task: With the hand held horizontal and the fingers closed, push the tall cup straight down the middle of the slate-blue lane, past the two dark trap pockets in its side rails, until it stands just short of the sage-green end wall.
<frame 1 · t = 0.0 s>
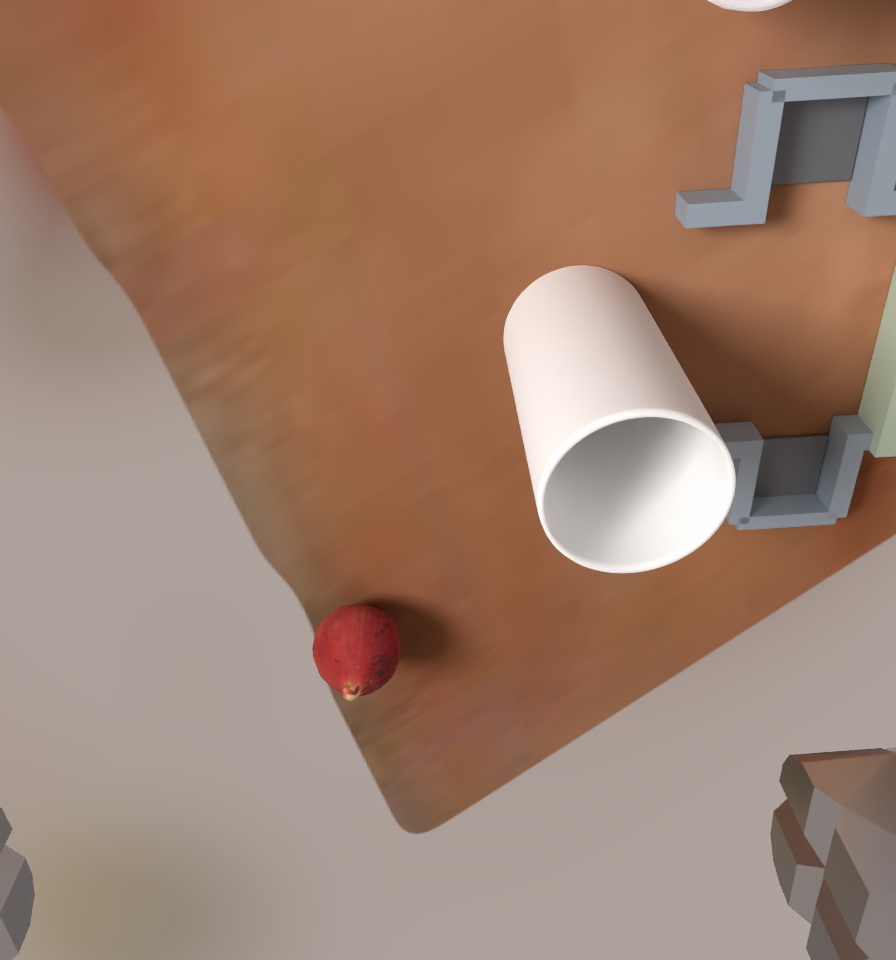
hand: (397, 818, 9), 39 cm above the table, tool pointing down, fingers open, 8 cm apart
onion: (360, 607, 60), on the table
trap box: (777, 322, 48), on the table
cup: (574, 333, 48), on the table
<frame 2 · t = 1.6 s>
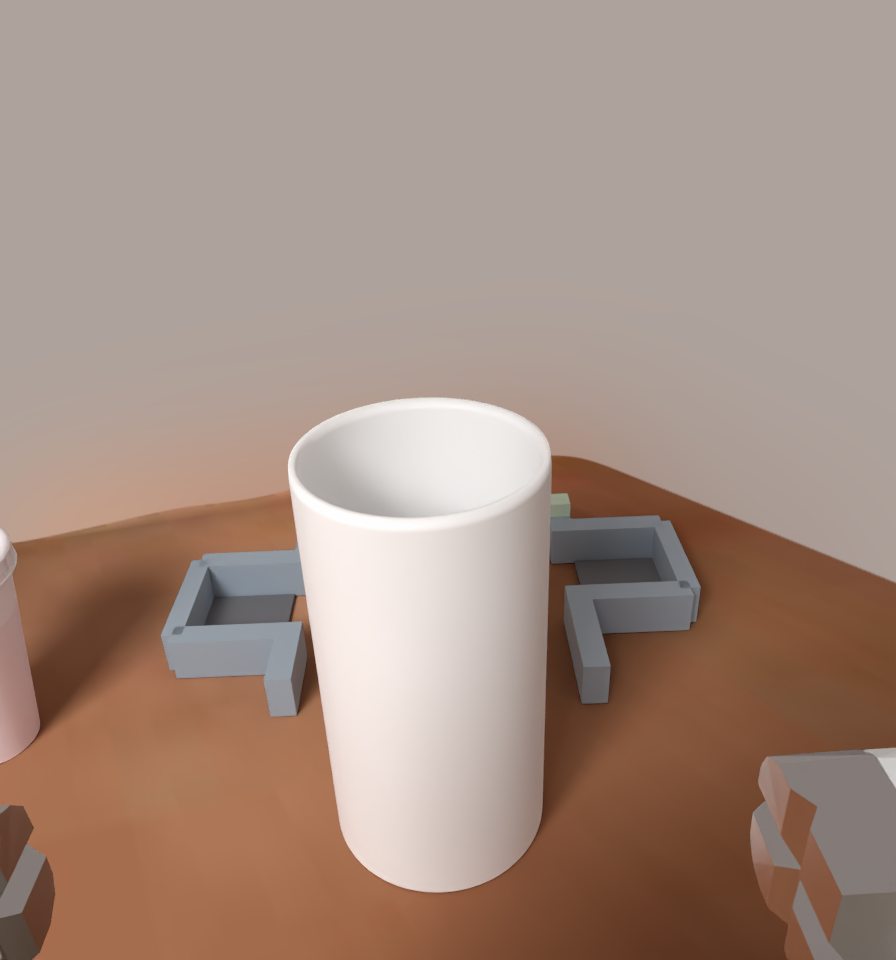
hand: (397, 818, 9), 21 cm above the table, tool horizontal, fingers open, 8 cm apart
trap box: (437, 618, 44), on the table
cup: (440, 803, 34), on the table
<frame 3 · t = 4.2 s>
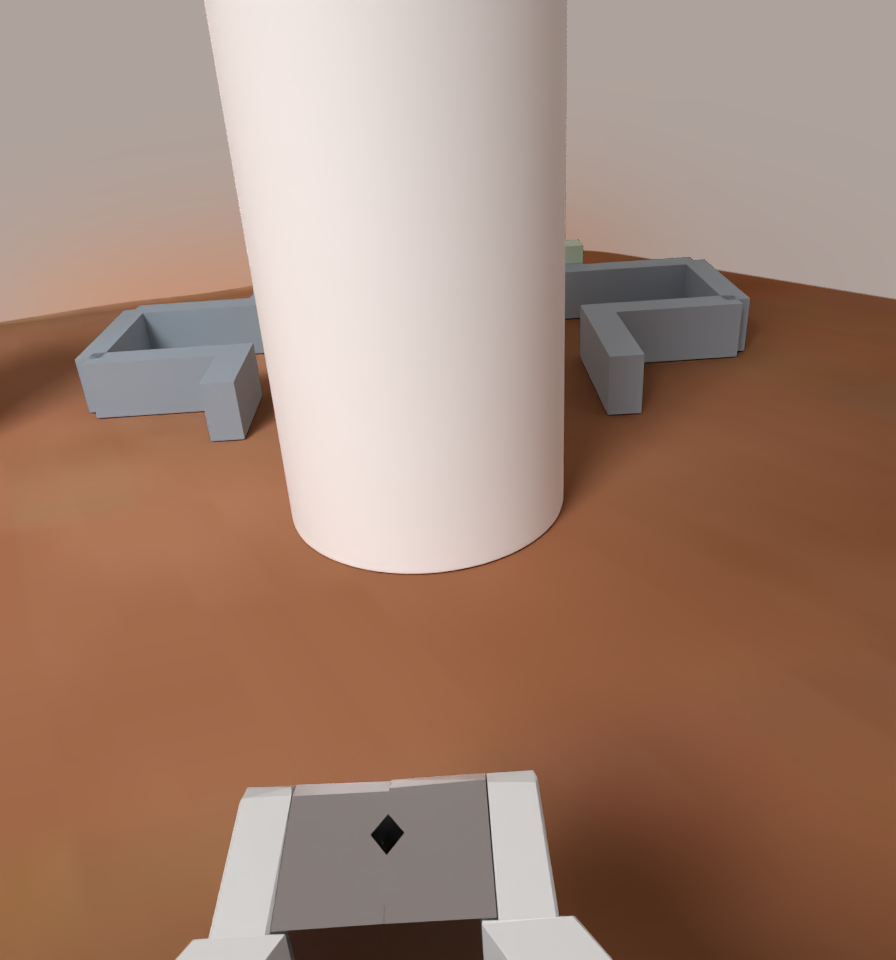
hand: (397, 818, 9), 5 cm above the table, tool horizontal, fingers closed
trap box: (424, 362, 36), on the table
cup: (428, 502, 26), on the table
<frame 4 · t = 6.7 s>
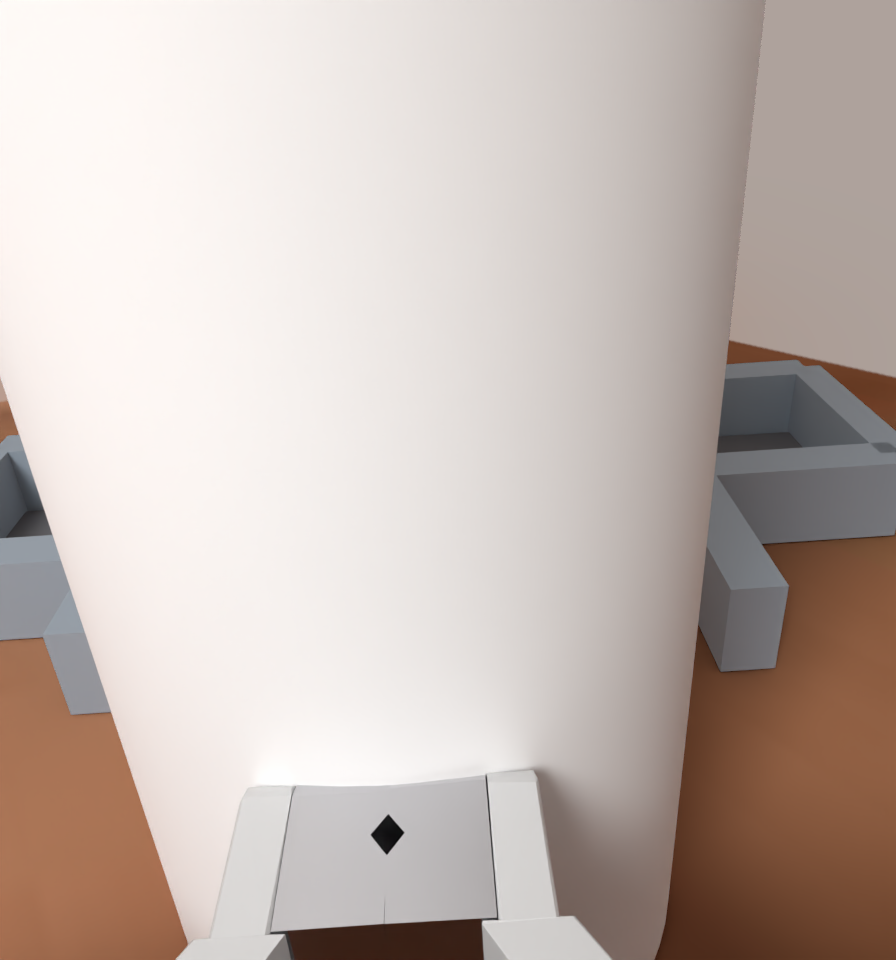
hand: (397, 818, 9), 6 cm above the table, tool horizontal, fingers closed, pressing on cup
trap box: (421, 532, 24), on the table
cup: (428, 859, 15), on the table, touching gripper
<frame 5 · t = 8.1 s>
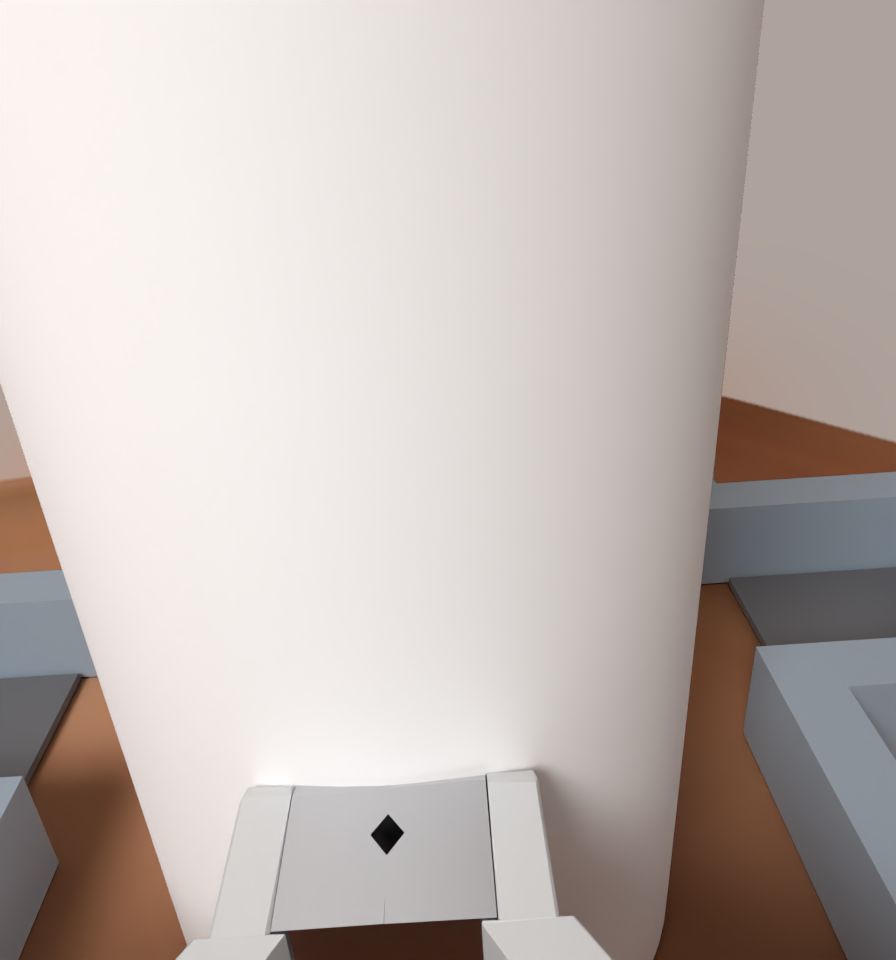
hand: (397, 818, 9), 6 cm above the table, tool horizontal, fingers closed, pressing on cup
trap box: (419, 735, 17), on the table
cup: (427, 860, 15), on the table, touching gripper
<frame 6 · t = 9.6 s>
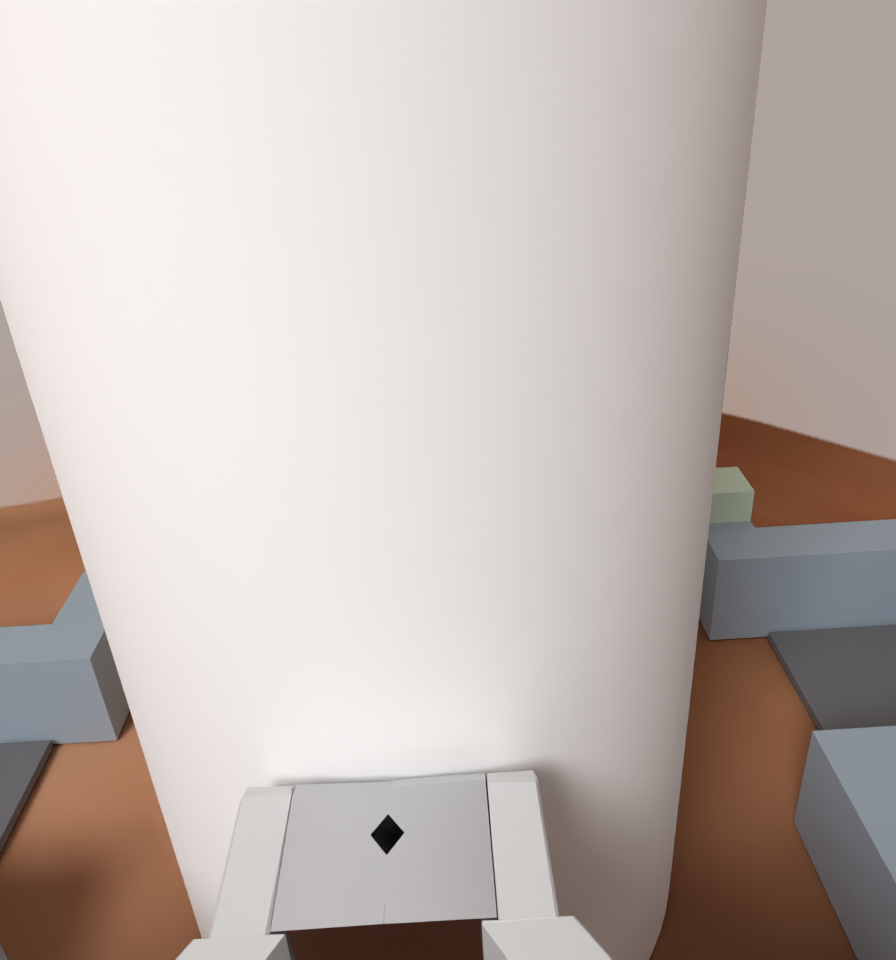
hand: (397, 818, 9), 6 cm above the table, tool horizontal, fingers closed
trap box: (428, 820, 16), on the table
cup: (433, 846, 15), on the table
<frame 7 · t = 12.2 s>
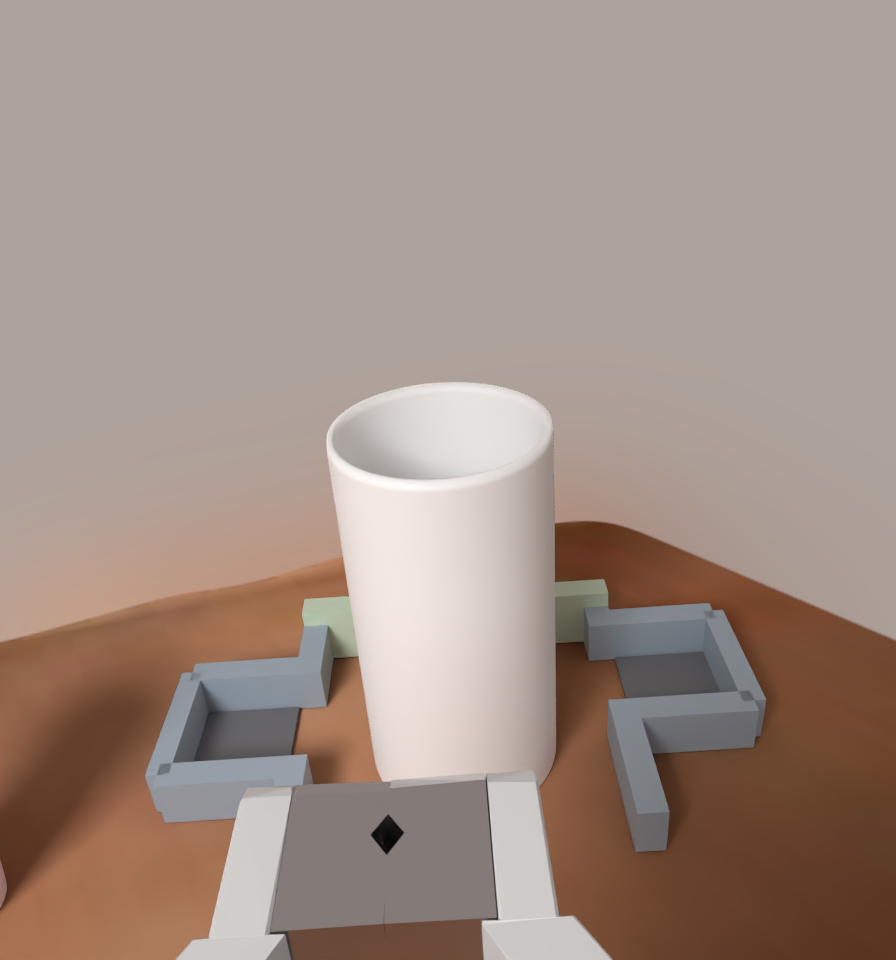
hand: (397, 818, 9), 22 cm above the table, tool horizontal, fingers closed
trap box: (462, 736, 39), on the table
cup: (465, 746, 39), on the table
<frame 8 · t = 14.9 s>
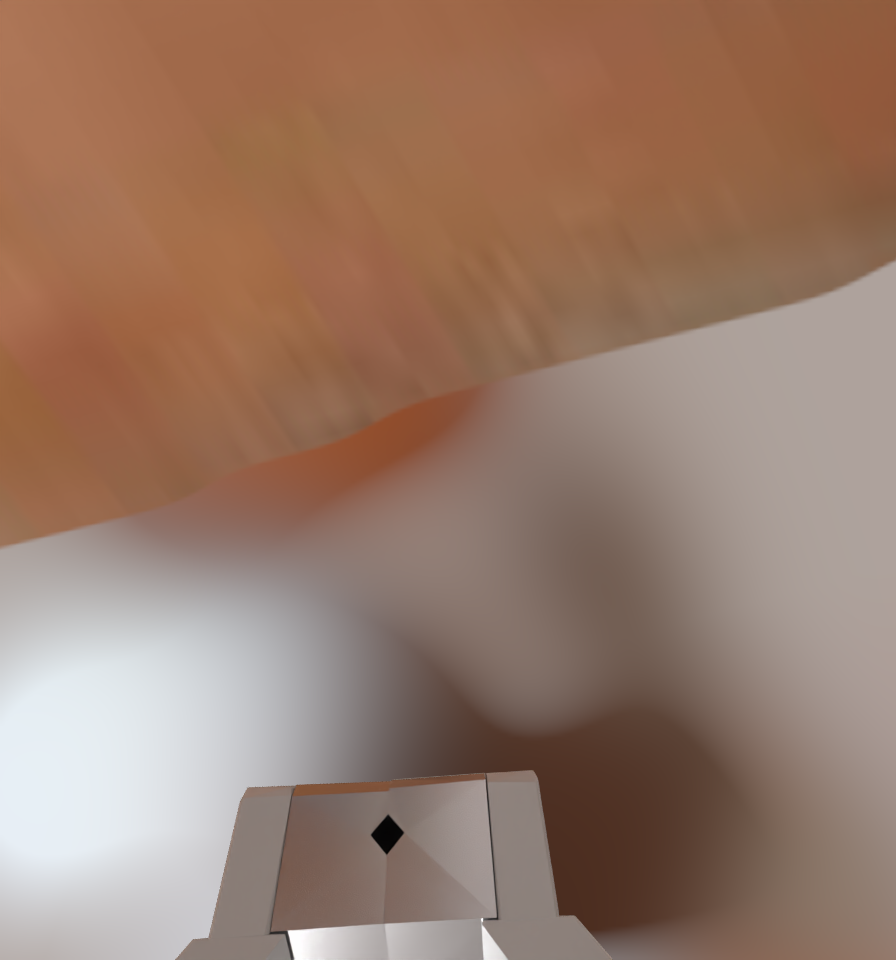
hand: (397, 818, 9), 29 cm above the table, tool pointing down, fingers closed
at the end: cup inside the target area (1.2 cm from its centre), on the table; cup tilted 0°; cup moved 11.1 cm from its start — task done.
